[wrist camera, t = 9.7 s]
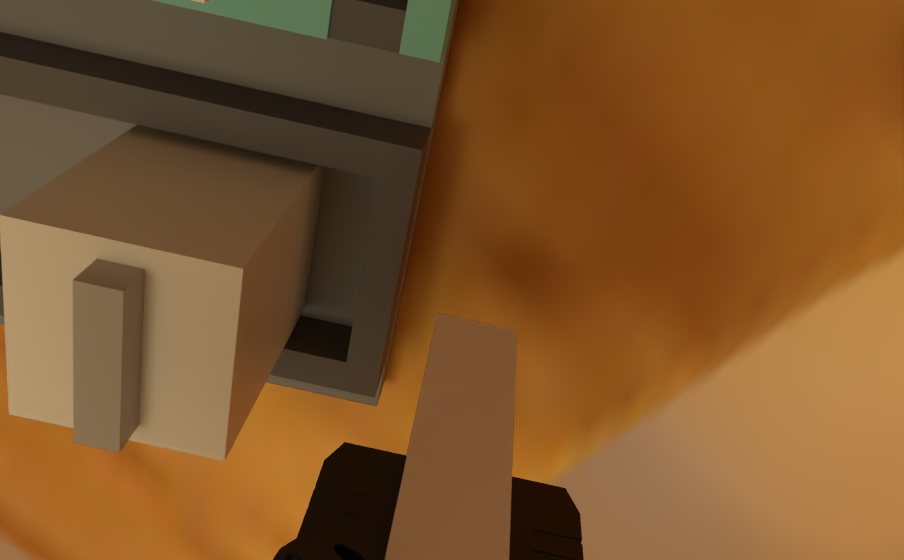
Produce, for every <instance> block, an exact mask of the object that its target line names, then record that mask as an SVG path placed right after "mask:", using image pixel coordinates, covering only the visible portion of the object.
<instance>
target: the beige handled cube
mask: <svg viewBox="0 0 904 560" xmlns="http://www.w3.org/2000/svg"><path fill="white" fill-rule="evenodd" d="M324 167H325V166H320V165H316V164H311V163H307V162H302V161H298V160H293V159H289V158H284V157H280V156H275V155H271V154H266V153H262V152H257V151H253V150H248V149H244V148H239V147H235V146H230V145H226V144H221V143H217V142H212V141H208V140H203V139H199V138H194V137H190V136H186V135H181V134H177V133H172V132H168V131H163V130H159V129H154V128H150V127H145V126H141V125H136V126H134V127H133V128H131V129H130V130H128V131H127V132H125V133H124V134H122V135H121V136H119V137H118V138H116V139H114V140H113V141H111V142H110V143H108V144H107V145H105V146H104V147H102V148H101V149H99V150H98V151H96V152H95V153H93V154H92V155H90V156H88V157H87V158H85V159H84V160H82V161H81V162H79V163H78V164H76V165H75V166H73V167H72V168H70V169H69V170H67V171H66V172H64V173H62V174H61V175H59V176H58V177H56V178H55V179H53V180H52V181H50V182H49V183H47V184H46V185H44V186H43V187H41V188H40V189H38V190H36V191H35V192H33V193H32V194H30V195H29V196H27V197H26V198H24V199H23V200H21V201H20V202H18V203H17V204H15V205H14V206H12V207H10V208H9V209H7V210H6V211H4V212H3V213H1V214H0V241H1V261H2V282H3V302H4V322H5V343H6V363H7V384H8V404H9V414H11V415H15V416H20V417H24V418H29V419H33V420H38V421H43V422H47V423H52V424H56V425H61V426H65V427H70V428H74V443H77V444H81V445H86V446H91V447H95V448H100V449H104V450H109V451H113V452H118V453H120V451H121V450H122V448H123V447H124V446H125V444H126V443H127V441H128V440H129V441H134V442H138V443H143V444H148V445H152V446H157V447H161V448H166V449H170V450H175V451H179V452H184V453H189V454H193V455H198V456H202V457H207V458H211V459H216V460H221V461H225V459H226V457H227V455H228V453H229V451H230V450H231V448H232V446H233V444H234V442H235V440H236V438H237V436H238V434H239V432H240V430H241V428H242V427H243V425H244V423H245V421H246V419H247V417H248V415H249V413H250V411H251V409H252V407H253V406H254V404H255V402H256V400H257V398H258V396H259V394H260V392H261V390H262V388H263V386H264V384H265V383H266V381H267V379H268V377H269V375H270V373H271V371H272V369H273V367H274V365H275V363H276V361H277V360H278V358H279V356H280V354H281V352H282V350H283V348H284V346H285V344H286V342H287V340H288V338H289V337H290V335H291V333H292V331H293V329H294V327H295V325H296V323H297V321H298V319H299V317H300V315H301V314H302V312H303V310H304V308H305V304H306V296H307V289H308V282H309V275H310V268H311V260H312V253H313V246H314V239H315V232H316V224H317V217H318V210H319V203H320V196H321V188H322V181H323V174H324Z"/></svg>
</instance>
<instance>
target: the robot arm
mask: <svg viewBox="0 0 904 560" xmlns="http://www.w3.org/2000/svg"><path fill="white" fill-rule="evenodd" d="M516 338H517V331H516V330H512V329H507V328H503V327H498V326H494V325H489V324H485V323H480V322H476V321H471V320H467V319H462V318H458V317H453V316H448V315H444V314H439V313H438V315H437V319H436V324H435V328H434V333H433V337H432V342H431V346H430V351H429V355H428V360H427V364H426V369H425V373H424V378H423V382H422V387H421V391H420V396H419V400H418V404H417V409H416V413H415V418H414V422H413V427H412V431H411V436H410V441H409V445H408V450H407V455H406V456H405V455H401V454H396V453H392V452H387V451H383V450H378V449H373V448H369V447H364V446H360V445H355V444H351V443H346V442H345V443H343V444H342V445H341V446H340V447H339V448H338V449H337V450H335V451H334V452H333V453H332V454H331V455H330V456H329V457H327V458H326V459H325V460H324V463H323V466H322V469H321V471H320V474H319V477H318V480H317V483H316V487H315V489H314V491H313V494H312V497H311V500H310V502H309V506H308V508H307V511H306V514H305V517H304V519H303V522H302V525H301V528H300V531H299V533H298V536H297V538H296V539H295V540H293V541H291V542H290V543H288V544H287V545H285V546H284V547H282V548H280V550H279V551H278V553H277V554H276V556H275V557H274V559H273V560H583V548H582V544H581V541H582V535H581V521H580V513H579V511H578V509H577V508H576V506H575V504H574V502H573V501H572V499H571V497H570V495H569V494H568V492H567V490H566V489H565V488H562V487H557V486H553V485H548V484H544V483H539V482H534V481H530V480H525V479H521V478H516V477H512V459H513V429H514V398H515V368H516Z"/></svg>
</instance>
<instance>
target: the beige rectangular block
mask: <svg viewBox="0 0 904 560" xmlns="http://www.w3.org/2000/svg"><path fill="white" fill-rule="evenodd" d="M192 1H197V2H201V3H206V2H209V1H211V0H192Z"/></svg>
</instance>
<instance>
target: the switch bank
mask: <svg viewBox="0 0 904 560" xmlns="http://www.w3.org/2000/svg"><path fill="white" fill-rule="evenodd" d="M458 5H459V0H211V1H209V2H206V3H201V2H197V1H192V0H0V214H1V213H3V212H4V211H6V210H7V209H9V208H10V207H12V206H14V205H15V204H17V203H18V202H20V201H21V200H23V199H24V198H26V197H27V196H29V195H30V194H32V193H33V192H35V191H36V190H38V189H40V188H41V187H43V186H44V185H46V184H47V183H49V182H50V181H52V180H53V179H55V178H56V177H58V176H59V175H61V174H62V173H64V172H66V171H67V170H69V169H70V168H72V167H73V166H75V165H76V164H78V163H79V162H81V161H82V160H84V159H85V158H87V157H88V156H90V155H92V154H93V153H95V152H96V151H98V150H99V149H101V148H102V147H104V146H105V145H107V144H108V143H110V142H111V141H113V140H114V139H116V138H118V137H119V136H121V135H122V134H124V133H125V132H127V131H128V130H130V129H131V128H133V127H134V126H136V125H141V126H145V127H150V128H154V129H159V130H163V131H168V132H172V133H177V134H181V135H186V136H190V137H194V138H199V139H203V140H208V141H212V142H217V143H221V144H226V145H230V146H235V147H239V148H244V149H248V150H253V151H257V152H262V153H266V154H271V155H275V156H280V157H284V158H289V159H293V160H298V161H302V162H307V163H311V164H316V165H320V166H325V167H324V174H323V181H322V188H321V196H320V203H319V210H318V217H317V224H316V232H315V239H314V246H313V253H312V260H311V268H310V275H309V282H308V289H307V296H306V304H305V308H304V310H303V312H302V314H301V315H300V317H299V319H298V321H297V323H296V325H295V327H294V329H293V331H292V333H291V335H290V337H289V338H288V340H287V342H286V344H285V346H284V348H283V350H282V352H281V354H280V356H279V358H278V360H277V361H276V363H275V365H274V367H273V369H272V371H271V373H270V375H269V377H268V379H267V381H266V382H268V383H272V384H277V385H281V386H286V387H291V388H295V389H300V390H304V391H309V392H313V393H318V394H322V395H327V396H331V397H336V398H341V399H345V400H350V401H354V402H359V403H363V404H368V405H372V406H377V404H378V401H379V397H380V394H381V391H382V387H383V384H384V380H385V375H386V370H387V365H388V360H389V355H390V350H391V345H392V340H393V334H394V329H395V324H396V319H397V314H398V309H399V304H400V299H401V294H402V289H403V284H404V279H405V274H406V269H407V264H408V259H409V253H410V248H411V243H412V238H413V233H414V228H415V223H416V218H417V213H418V208H419V203H420V198H421V193H422V188H423V183H424V178H425V172H426V167H427V162H428V157H429V152H430V147H431V142H432V137H433V132H434V127H435V122H436V117H437V112H438V107H439V102H440V96H441V91H442V86H443V81H444V76H445V71H446V66H447V61H448V56H449V51H450V46H451V41H452V36H453V31H454V26H455V21H456V15H457V10H458ZM0 324H4V325H5V322H4V302H3V282H2V261H1V241H0Z"/></svg>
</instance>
